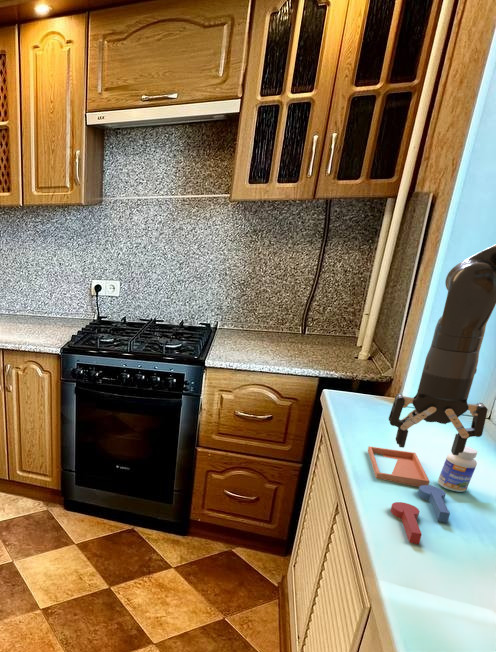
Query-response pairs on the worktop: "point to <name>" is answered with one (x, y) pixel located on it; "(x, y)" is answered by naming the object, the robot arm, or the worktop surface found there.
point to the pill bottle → (458, 470)
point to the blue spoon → (435, 501)
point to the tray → (400, 467)
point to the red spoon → (408, 520)
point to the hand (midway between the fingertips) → (427, 449)
